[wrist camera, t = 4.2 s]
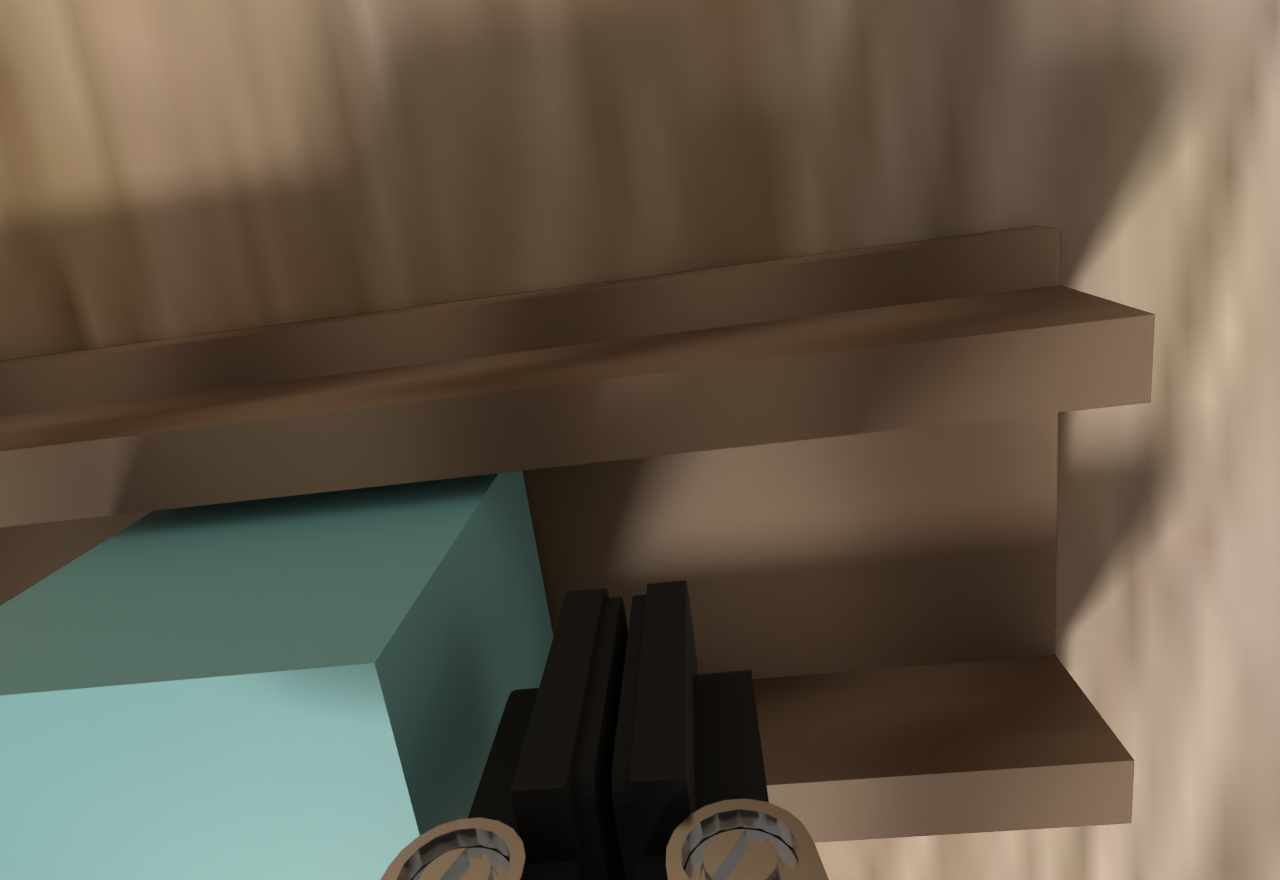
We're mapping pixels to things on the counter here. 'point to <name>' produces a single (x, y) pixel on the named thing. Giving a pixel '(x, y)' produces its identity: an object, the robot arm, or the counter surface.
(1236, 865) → the counter surface
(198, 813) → the block
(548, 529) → the chute
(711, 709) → the robot arm
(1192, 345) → the counter surface
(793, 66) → the counter surface
